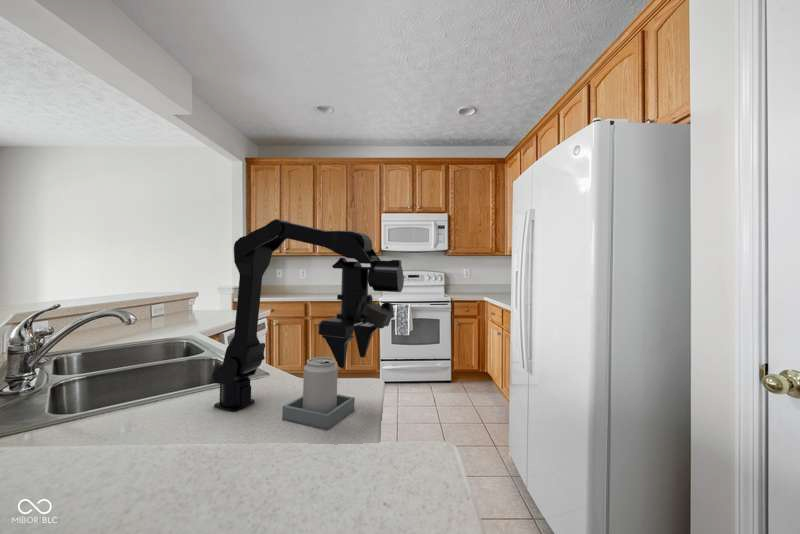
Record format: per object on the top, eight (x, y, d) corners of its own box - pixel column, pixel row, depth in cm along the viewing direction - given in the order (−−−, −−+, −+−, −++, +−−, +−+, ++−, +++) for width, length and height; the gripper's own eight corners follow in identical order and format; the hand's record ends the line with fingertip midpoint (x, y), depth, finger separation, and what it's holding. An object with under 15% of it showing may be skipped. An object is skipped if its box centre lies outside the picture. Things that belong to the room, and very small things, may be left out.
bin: (282, 420, 80) (282, 406, 80) (313, 401, 90) (313, 389, 90) (327, 430, 75) (327, 416, 75) (354, 410, 86) (354, 397, 86)
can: (328, 421, 78) (329, 365, 78) (296, 417, 80) (297, 362, 80) (341, 408, 86) (342, 357, 86) (311, 404, 87) (313, 354, 87)
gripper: (368, 295, 68) (366, 380, 68) (405, 289, 85) (403, 356, 85) (317, 292, 72) (315, 371, 72) (362, 287, 89) (360, 351, 90)
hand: (352, 362), depth 80 cm, fingers open, 9 cm apart
